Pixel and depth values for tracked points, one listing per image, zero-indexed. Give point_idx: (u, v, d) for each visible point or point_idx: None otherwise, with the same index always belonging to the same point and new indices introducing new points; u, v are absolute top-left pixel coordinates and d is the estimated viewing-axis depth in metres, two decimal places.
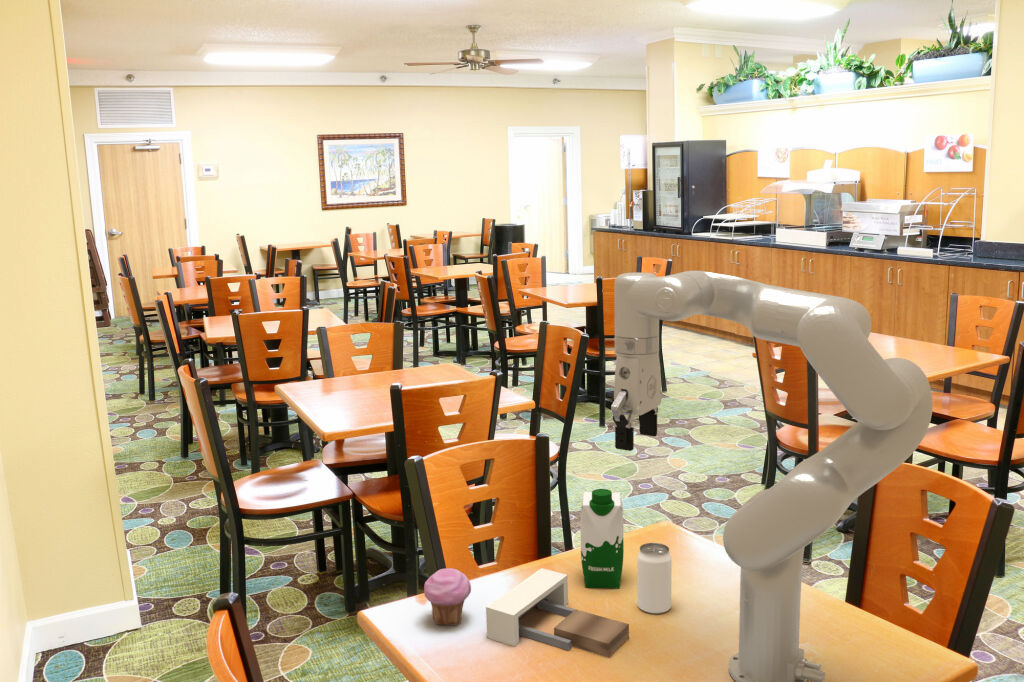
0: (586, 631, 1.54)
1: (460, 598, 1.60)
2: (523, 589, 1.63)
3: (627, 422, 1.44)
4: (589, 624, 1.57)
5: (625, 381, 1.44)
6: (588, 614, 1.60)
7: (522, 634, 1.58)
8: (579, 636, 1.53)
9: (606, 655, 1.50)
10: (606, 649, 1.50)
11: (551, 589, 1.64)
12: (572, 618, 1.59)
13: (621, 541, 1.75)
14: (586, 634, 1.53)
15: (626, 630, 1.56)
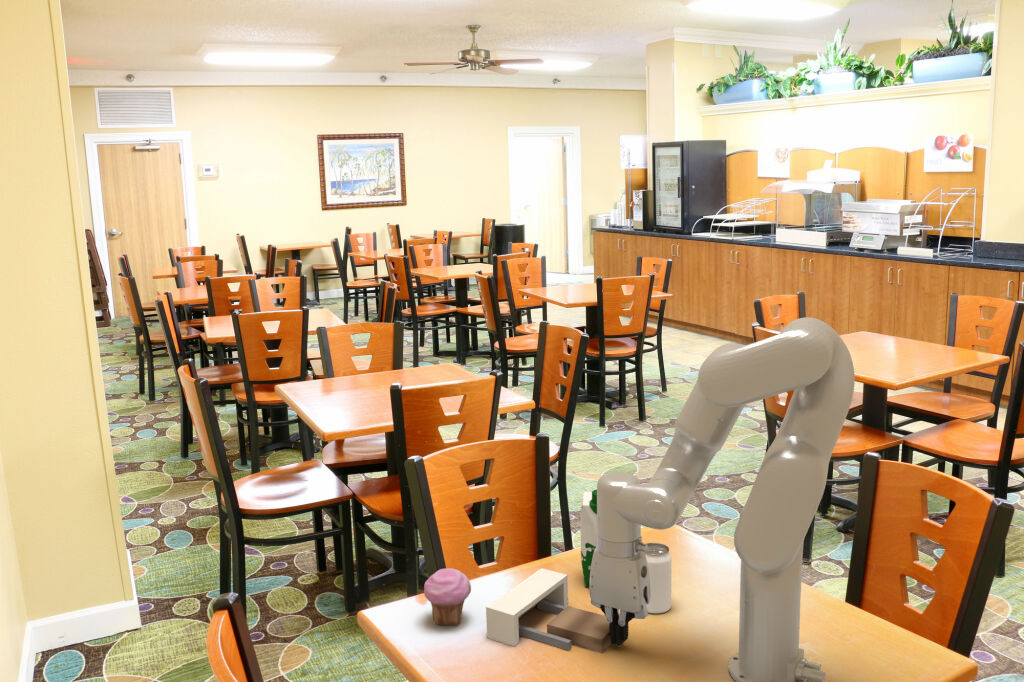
0: (579, 627, 1.56)
1: (460, 598, 1.60)
2: (523, 589, 1.63)
3: None
4: (581, 620, 1.58)
5: (645, 578, 1.49)
6: (580, 610, 1.62)
7: (522, 634, 1.58)
8: (572, 632, 1.54)
9: (599, 651, 1.52)
10: (599, 645, 1.52)
11: (551, 589, 1.64)
12: (564, 614, 1.60)
13: None
14: (579, 630, 1.55)
15: None
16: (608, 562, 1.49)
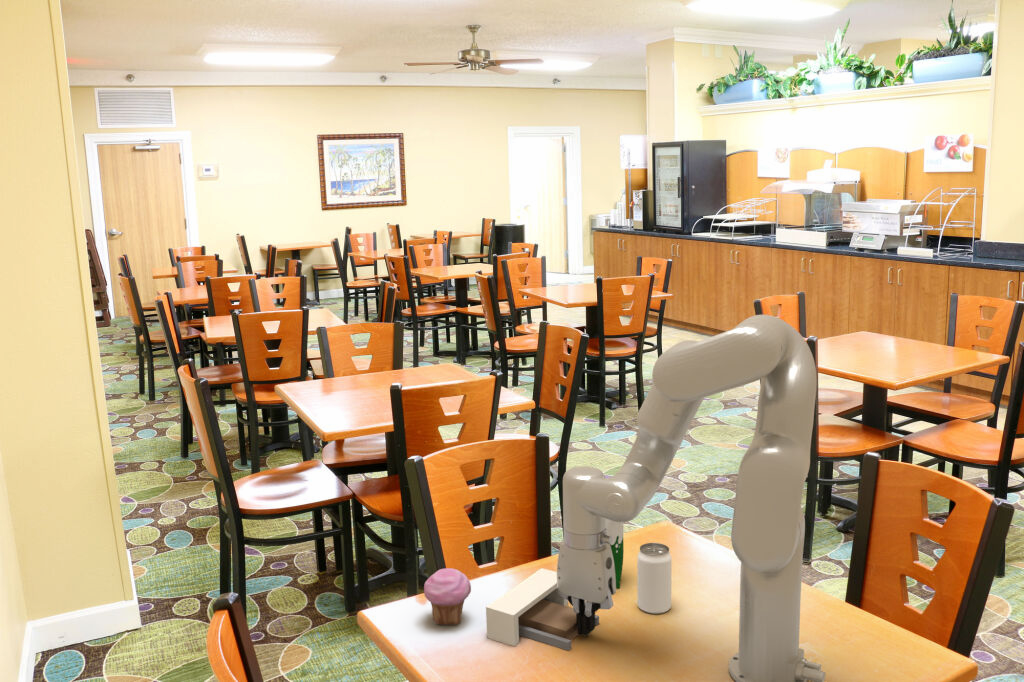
0: (546, 618, 1.59)
1: (460, 598, 1.60)
2: (523, 589, 1.63)
3: None
4: (550, 612, 1.62)
5: (610, 570, 1.52)
6: (550, 603, 1.65)
7: (522, 634, 1.58)
8: (539, 623, 1.58)
9: None
10: (564, 636, 1.55)
11: (551, 589, 1.64)
12: (534, 606, 1.64)
13: (621, 541, 1.75)
14: (546, 621, 1.58)
15: None
16: (574, 554, 1.53)
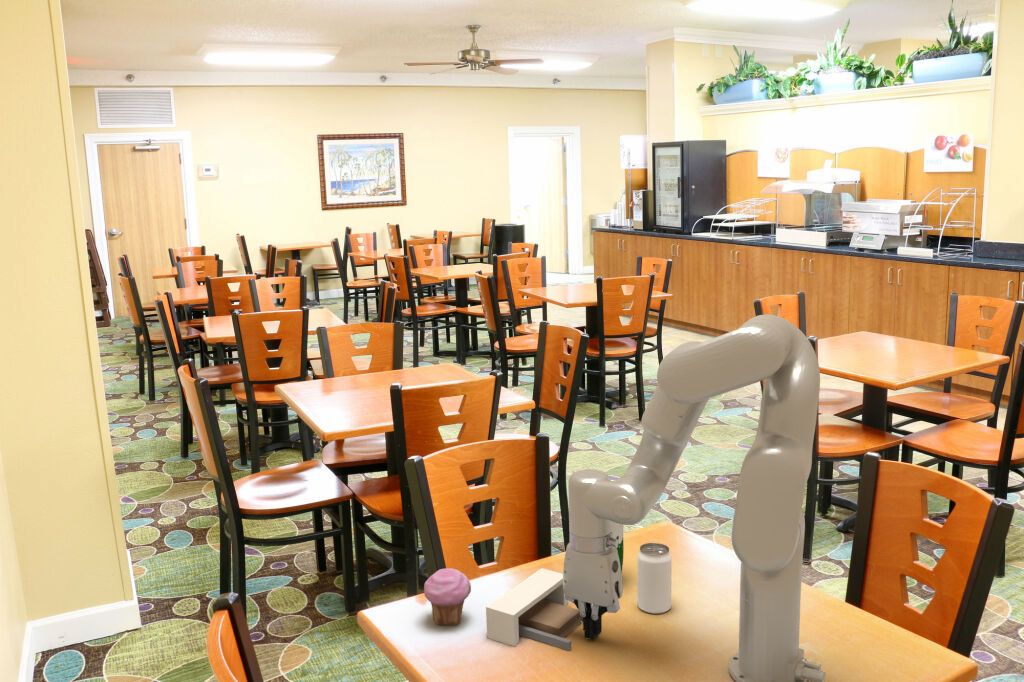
0: (539, 616, 1.60)
1: (460, 598, 1.60)
2: (523, 589, 1.63)
3: None
4: (542, 610, 1.62)
5: (616, 573, 1.52)
6: (543, 601, 1.66)
7: (522, 634, 1.58)
8: (532, 621, 1.59)
9: None
10: (557, 634, 1.56)
11: (551, 589, 1.64)
12: None
13: (621, 541, 1.75)
14: (538, 619, 1.59)
15: (579, 616, 1.61)
16: (580, 557, 1.52)
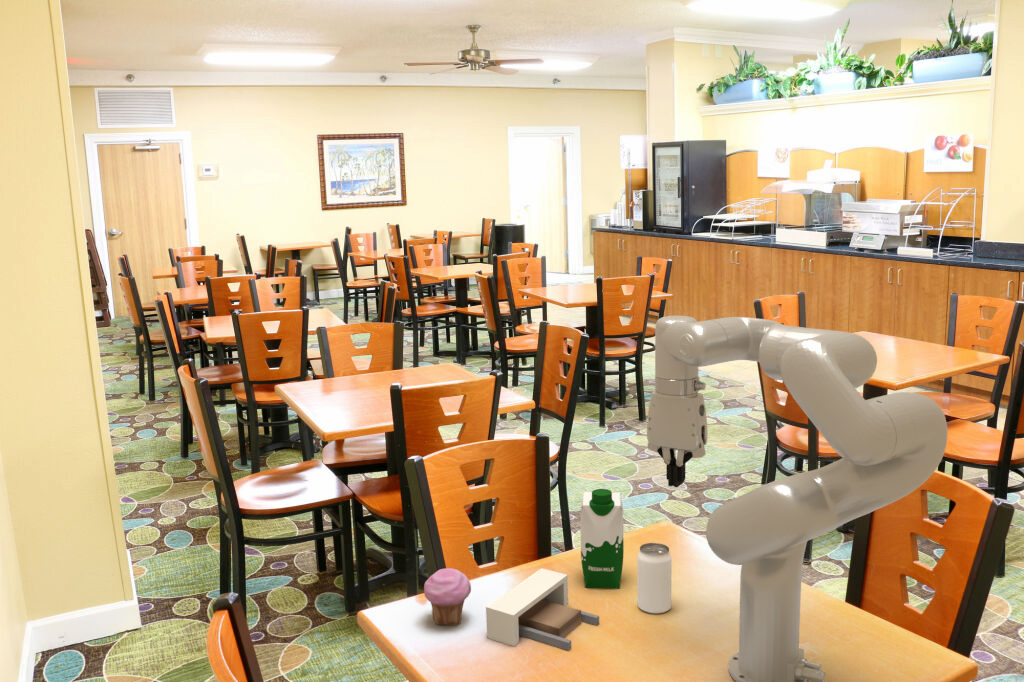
0: (539, 616, 1.60)
1: (460, 598, 1.60)
2: (523, 589, 1.63)
3: None
4: (542, 610, 1.62)
5: (703, 417, 1.52)
6: (543, 601, 1.66)
7: (522, 634, 1.58)
8: (532, 621, 1.59)
9: None
10: (557, 634, 1.56)
11: (551, 589, 1.64)
12: None
13: (621, 541, 1.75)
14: (539, 619, 1.59)
15: (579, 616, 1.62)
16: (666, 402, 1.52)
